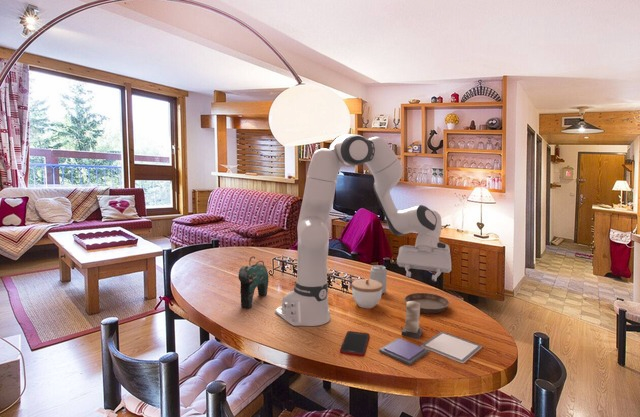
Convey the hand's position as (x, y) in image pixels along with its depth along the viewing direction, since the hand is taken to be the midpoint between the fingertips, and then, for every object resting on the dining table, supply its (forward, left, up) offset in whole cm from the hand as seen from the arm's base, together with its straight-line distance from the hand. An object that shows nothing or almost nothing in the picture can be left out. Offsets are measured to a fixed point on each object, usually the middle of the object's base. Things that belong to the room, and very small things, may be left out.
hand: (420, 278), depth 139 cm
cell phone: (-5, -32, -17) cm, 36 cm away
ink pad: (+9, -25, -16) cm, 31 cm away
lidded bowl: (-23, -3, -17) cm, 28 cm away
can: (-29, +13, -16) cm, 36 cm away
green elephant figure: (-58, -35, -17) cm, 69 cm away
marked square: (+18, -11, -16) cm, 27 cm away
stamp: (+4, -12, -16) cm, 20 cm away
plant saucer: (-5, +14, -17) cm, 23 cm away
